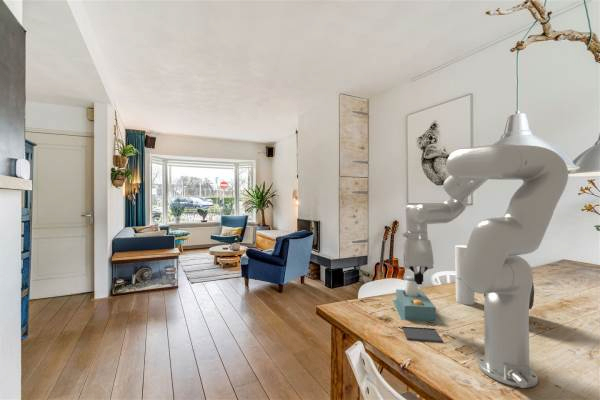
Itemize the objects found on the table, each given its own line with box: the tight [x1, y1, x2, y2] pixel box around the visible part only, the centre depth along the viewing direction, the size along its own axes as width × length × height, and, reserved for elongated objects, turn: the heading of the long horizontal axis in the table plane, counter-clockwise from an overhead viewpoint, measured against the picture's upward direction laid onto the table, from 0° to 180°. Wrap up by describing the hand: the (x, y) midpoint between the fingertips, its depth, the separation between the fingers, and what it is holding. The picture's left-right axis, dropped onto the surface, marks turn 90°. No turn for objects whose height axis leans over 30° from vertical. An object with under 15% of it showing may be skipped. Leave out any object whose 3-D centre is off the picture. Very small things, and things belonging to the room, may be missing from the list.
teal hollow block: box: [392, 288, 441, 323], centre depth 111 cm, size 21×14×6 cm, turn 170°
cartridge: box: [404, 275, 419, 297], centre depth 115 cm, size 5×5×12 cm
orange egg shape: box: [413, 300, 422, 305], centre depth 105 cm, size 3×3×4 cm
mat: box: [401, 326, 444, 343], centre depth 94 cm, size 11×11×1 cm
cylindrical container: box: [454, 244, 475, 306], centre depth 122 cm, size 7×7×25 cm
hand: (418, 283), depth 105 cm, fingers closed
